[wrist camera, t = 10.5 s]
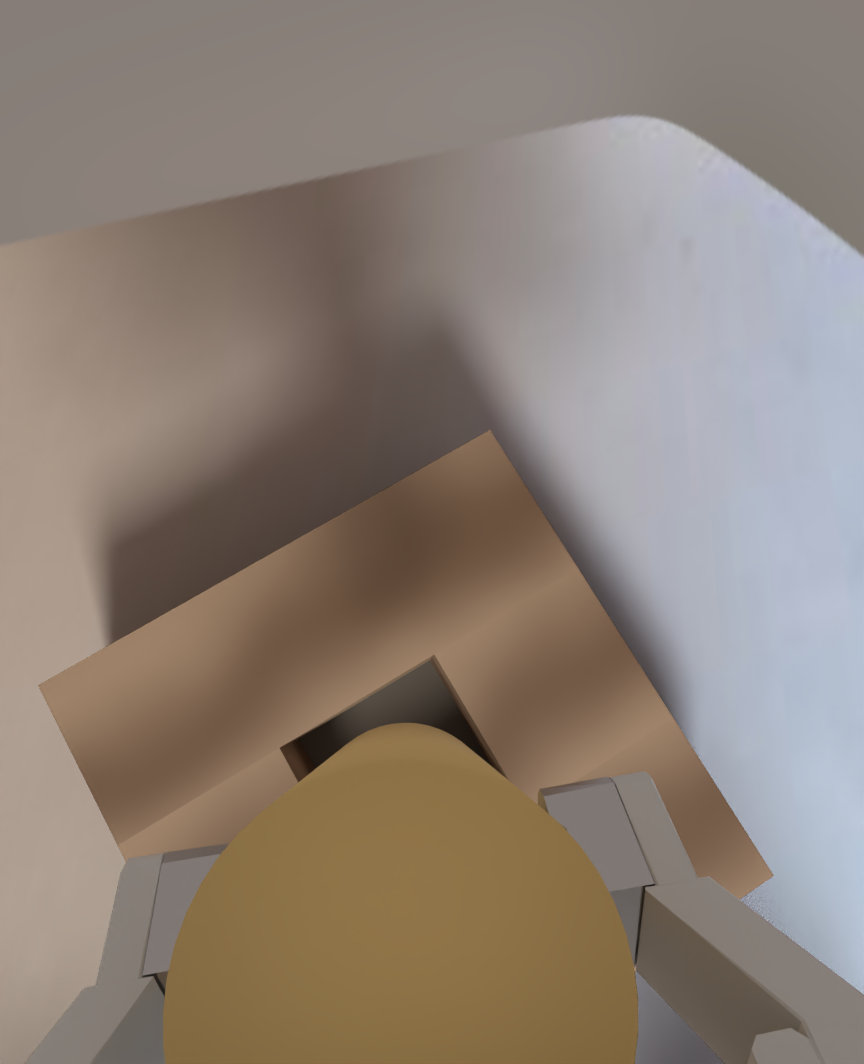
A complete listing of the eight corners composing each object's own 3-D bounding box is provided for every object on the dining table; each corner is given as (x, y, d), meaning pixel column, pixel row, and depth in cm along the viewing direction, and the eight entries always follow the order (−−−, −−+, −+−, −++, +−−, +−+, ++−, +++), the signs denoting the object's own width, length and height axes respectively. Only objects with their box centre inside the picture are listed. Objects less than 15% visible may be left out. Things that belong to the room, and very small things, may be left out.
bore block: (111, 686, 29) (38, 685, 23) (473, 478, 31) (490, 429, 26) (320, 1094, 27) (297, 1206, 21) (698, 838, 29) (773, 875, 23)
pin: (274, 787, 16) (79, 921, 7) (437, 687, 17) (479, 674, 7) (370, 964, 16) (311, 1399, 6) (536, 854, 16) (731, 1092, 7)
